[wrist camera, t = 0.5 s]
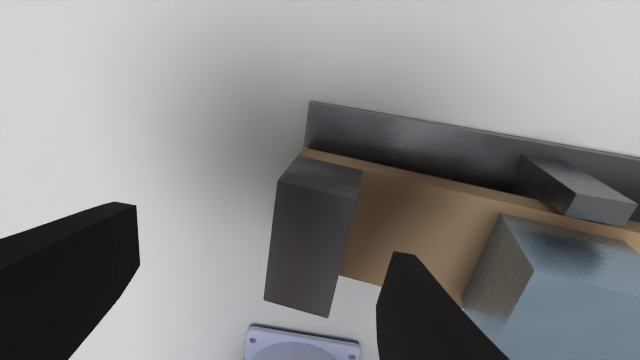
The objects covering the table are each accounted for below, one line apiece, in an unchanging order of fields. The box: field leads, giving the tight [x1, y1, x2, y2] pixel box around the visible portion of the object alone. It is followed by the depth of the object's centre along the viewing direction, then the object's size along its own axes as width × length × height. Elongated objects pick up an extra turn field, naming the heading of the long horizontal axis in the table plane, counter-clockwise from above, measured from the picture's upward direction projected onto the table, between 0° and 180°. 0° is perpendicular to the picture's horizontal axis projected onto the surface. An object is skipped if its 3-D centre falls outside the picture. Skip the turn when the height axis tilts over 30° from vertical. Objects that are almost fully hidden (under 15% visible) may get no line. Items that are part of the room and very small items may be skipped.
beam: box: [264, 148, 640, 318], centre depth 14 cm, size 24×6×4 cm, turn 81°
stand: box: [303, 101, 640, 226], centre depth 17 cm, size 24×10×5 cm, turn 81°
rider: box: [461, 213, 640, 360], centre depth 13 cm, size 5×5×4 cm
